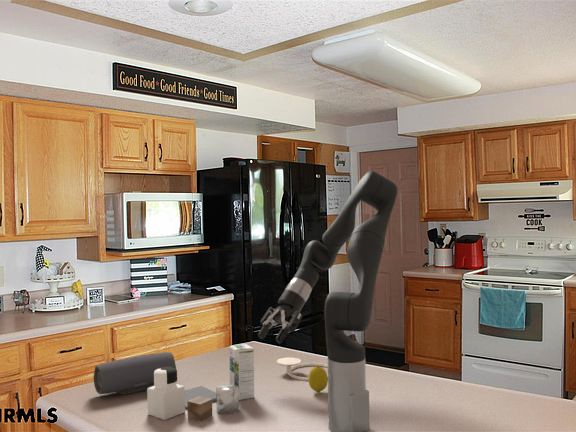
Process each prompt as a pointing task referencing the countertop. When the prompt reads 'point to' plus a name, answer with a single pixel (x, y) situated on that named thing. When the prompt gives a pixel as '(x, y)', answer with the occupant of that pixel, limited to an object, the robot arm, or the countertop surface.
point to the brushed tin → (227, 399)
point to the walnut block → (199, 408)
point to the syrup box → (242, 369)
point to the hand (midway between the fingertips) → (268, 339)
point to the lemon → (318, 379)
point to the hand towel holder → (296, 366)
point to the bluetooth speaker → (130, 373)
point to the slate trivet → (199, 394)
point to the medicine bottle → (165, 394)
